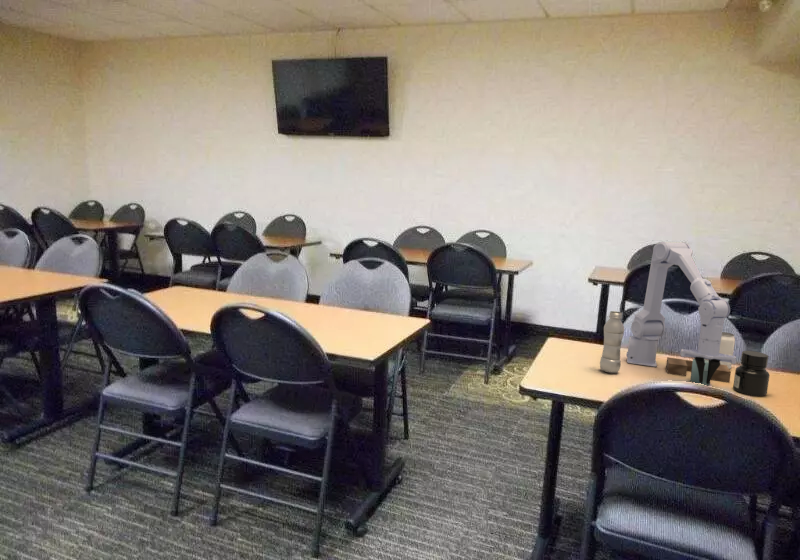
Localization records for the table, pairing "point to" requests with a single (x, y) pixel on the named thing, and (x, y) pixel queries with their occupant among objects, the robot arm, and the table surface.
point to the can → (727, 346)
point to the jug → (695, 373)
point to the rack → (683, 366)
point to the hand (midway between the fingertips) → (704, 382)
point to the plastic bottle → (612, 343)
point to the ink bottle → (752, 374)
